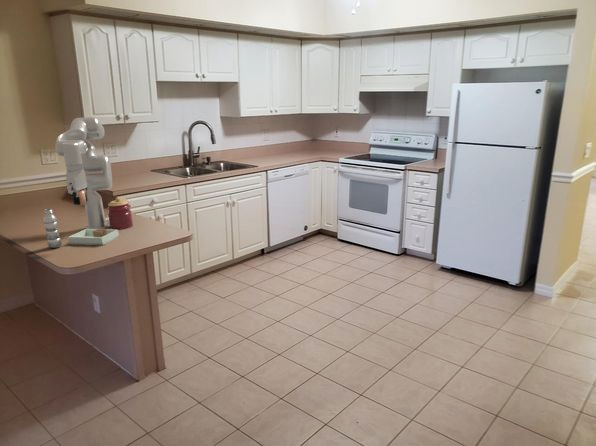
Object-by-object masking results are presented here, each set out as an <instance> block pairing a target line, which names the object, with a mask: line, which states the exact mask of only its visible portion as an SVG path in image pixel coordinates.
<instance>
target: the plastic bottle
mask: <svg viewBox="0 0 596 446" xmlns="http://www.w3.org/2000/svg"><path fill="white" fill-rule="evenodd" d="M43 212H44V217H43V220H42V222H43V225H44V228H45V231H46V238H47V240H46V241H47V246H48V247H49V248H50V249H56V248H59V247H61V246H62V244H63V243H62V239H61V237H60V233H59V227H58V218H57V216H56V215H55V214H54V211H53V209H52V208H46V209H44V210H43Z"/></svg>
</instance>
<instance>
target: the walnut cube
mask: <svg viewBox="0 0 596 446" xmlns="http://www.w3.org/2000/svg"><path fill="white" fill-rule="evenodd" d="M107 229H108V228H104V229H97V230H95V231H93V236H94V237H103V236H105V235H107V234H108V233H107Z"/></svg>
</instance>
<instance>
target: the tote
mask: <svg viewBox="0 0 596 446" xmlns="http://www.w3.org/2000/svg"><path fill="white" fill-rule="evenodd" d="M106 229H107V233H108V234H107V235H105V236H103V237H94V236H93V231H95V230H97V229H86V228H85V229H83V230H81V231H78V232H76V233H74V234H72V235H69V236H68V237H67V238H68V244H69V245H76V244H79V246H81V244H83V245H84V244H85V245H84V246H105V245H106V244H109V243H110V242H112V241H113V240H116V239H117V238H119V237H120V236H119V229H108V228H106Z"/></svg>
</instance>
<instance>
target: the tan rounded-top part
mask: <svg viewBox="0 0 596 446" xmlns="http://www.w3.org/2000/svg"><path fill="white" fill-rule="evenodd" d="M74 193H75V194H76V192H74ZM78 197H79V198H80V203H81V204H80V205H75V206H77V207H82V206H85V205H86V204H87V203H86V197H85V191H84V190H79V191H78Z"/></svg>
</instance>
